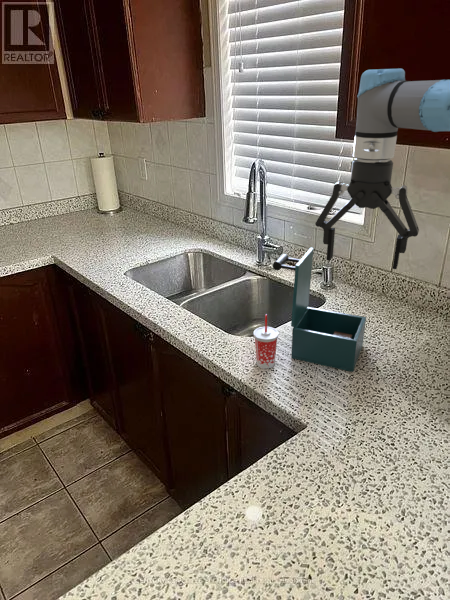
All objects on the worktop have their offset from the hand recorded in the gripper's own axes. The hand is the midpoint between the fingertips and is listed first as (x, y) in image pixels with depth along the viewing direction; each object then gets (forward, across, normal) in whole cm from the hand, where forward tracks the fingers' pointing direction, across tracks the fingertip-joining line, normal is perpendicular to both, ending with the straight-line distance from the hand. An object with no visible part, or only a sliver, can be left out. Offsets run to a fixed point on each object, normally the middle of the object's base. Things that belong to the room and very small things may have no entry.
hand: (361, 262), depth 95 cm
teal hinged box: (+29, -7, +7) cm, 30 cm away
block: (+28, -4, +7) cm, 29 cm away
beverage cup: (+29, -20, -4) cm, 35 cm away
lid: (+11, -14, +7) cm, 19 cm away
